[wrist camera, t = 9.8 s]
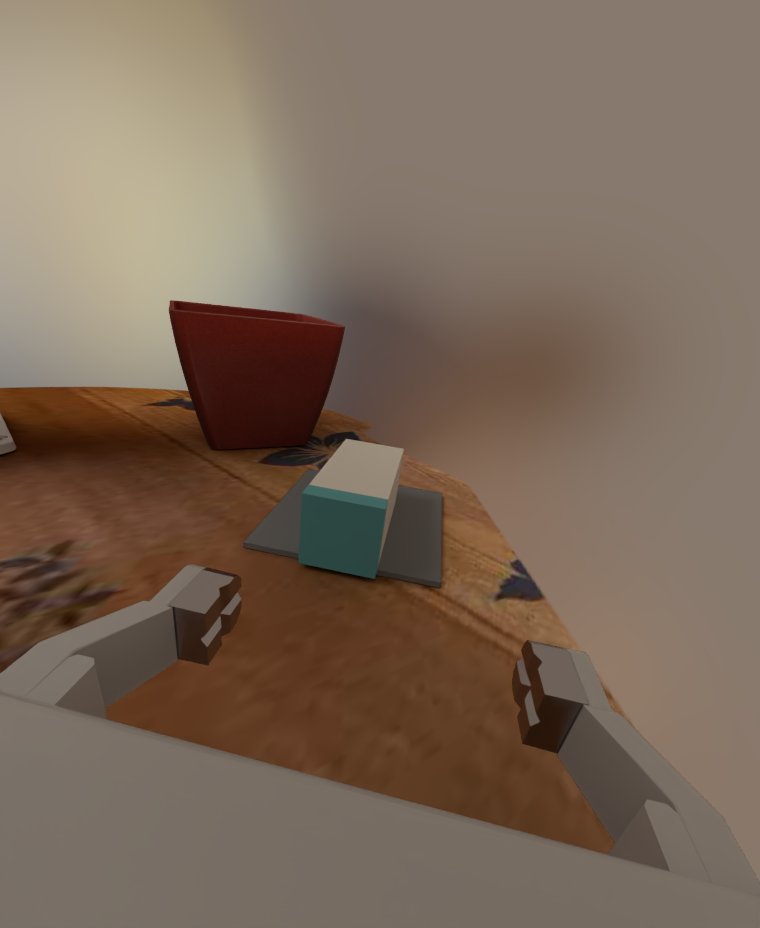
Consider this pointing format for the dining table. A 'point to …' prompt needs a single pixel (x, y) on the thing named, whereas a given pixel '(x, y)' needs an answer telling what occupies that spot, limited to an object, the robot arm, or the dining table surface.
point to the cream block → (350, 508)
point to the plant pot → (255, 372)
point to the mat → (406, 544)
